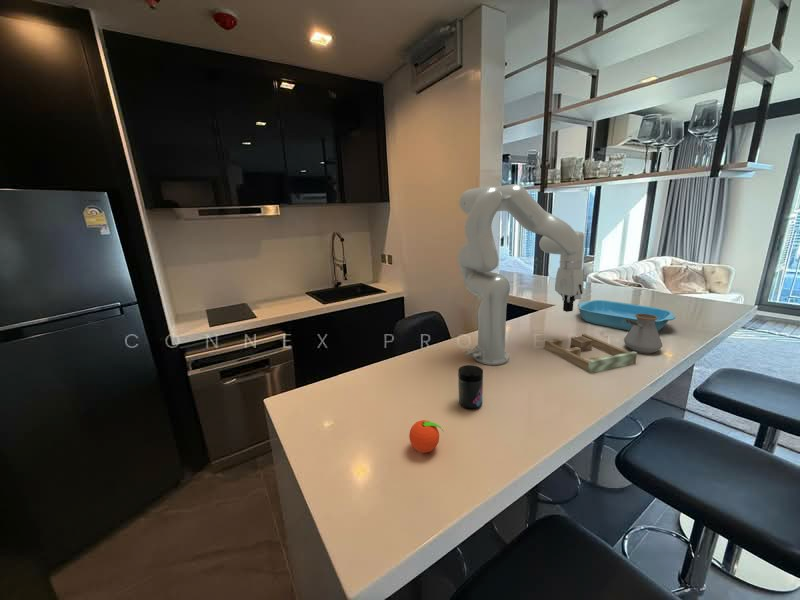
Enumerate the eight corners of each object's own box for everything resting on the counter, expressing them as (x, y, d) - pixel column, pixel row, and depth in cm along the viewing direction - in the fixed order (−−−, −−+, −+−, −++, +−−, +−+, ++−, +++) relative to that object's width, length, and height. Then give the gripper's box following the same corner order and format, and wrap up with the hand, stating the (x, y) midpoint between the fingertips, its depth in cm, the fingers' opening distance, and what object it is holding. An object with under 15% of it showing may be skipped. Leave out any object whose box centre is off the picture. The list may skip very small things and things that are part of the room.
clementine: (442, 438, 80) (442, 412, 78) (445, 459, 73) (445, 431, 71) (410, 439, 80) (408, 413, 79) (409, 459, 74) (408, 432, 72)
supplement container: (470, 413, 89) (470, 379, 86) (453, 402, 94) (453, 369, 92) (487, 405, 92) (488, 371, 90) (470, 395, 98) (470, 362, 95)
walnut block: (580, 352, 122) (581, 342, 121) (570, 347, 127) (571, 337, 126) (591, 350, 123) (592, 340, 122) (581, 345, 128) (582, 336, 127)
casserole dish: (568, 320, 156) (569, 306, 154) (588, 310, 169) (589, 296, 168) (664, 341, 128) (667, 323, 126) (679, 326, 142) (682, 310, 140)
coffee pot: (631, 341, 129) (636, 304, 125) (667, 350, 120) (673, 310, 116) (602, 355, 118) (607, 315, 115) (639, 366, 109) (645, 324, 105)
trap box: (590, 373, 107) (592, 362, 106) (544, 348, 127) (545, 338, 126) (635, 363, 111) (637, 352, 110) (583, 340, 132) (584, 331, 131)
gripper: (548, 263, 131) (546, 307, 136) (578, 268, 117) (574, 317, 122) (564, 261, 133) (561, 304, 138) (595, 266, 119) (591, 314, 124)
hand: (567, 310), depth 130 cm, fingers closed
